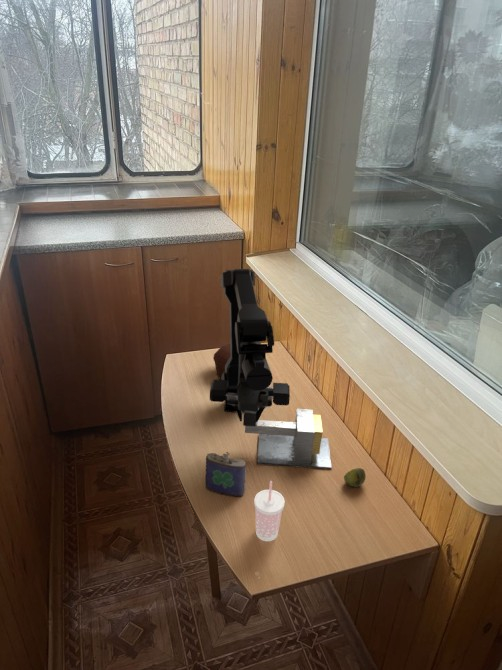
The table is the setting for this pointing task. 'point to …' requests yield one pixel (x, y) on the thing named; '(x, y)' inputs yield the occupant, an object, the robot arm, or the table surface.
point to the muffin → (221, 359)
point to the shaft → (267, 426)
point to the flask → (225, 475)
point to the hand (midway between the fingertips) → (248, 420)
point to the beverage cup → (268, 513)
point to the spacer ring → (317, 434)
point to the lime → (355, 477)
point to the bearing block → (295, 446)
